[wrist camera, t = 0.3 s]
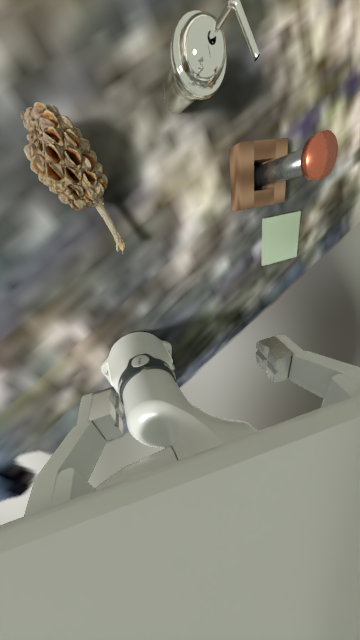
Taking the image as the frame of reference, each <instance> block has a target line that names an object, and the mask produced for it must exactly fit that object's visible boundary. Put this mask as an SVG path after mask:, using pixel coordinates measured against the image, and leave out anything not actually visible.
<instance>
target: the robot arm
mask: <svg viewBox="0 0 360 640" xmlns="http://www.w3.org/2000/svg"><path fill="white" fill-rule="evenodd" d="M256 347H257V348H258V351H257V352H256V359H257V362H258V364H259V366H260V367H261V368H262V369H264V370H267V375H268V377H269V378H270V379H271V380H272V382H273V383H277V382H279V381H283V380H286V379H288V380H290V381H292V382H293V383H295V384H297V385H299V386H301V387H303V388H305V389H307V390H309V391H310V392H312V393H314V394H316V395H318V396H320V397H322V398H323V399H324V400H323V403H322V405H321V408H320V409H317V410H314V411H312V412H309V413H306V414H303V415H301V416H298V417H295V418H293V419H290V420H287V421H284V422H282V423H279V424H276V425H273V426H271V427H268V428H265V429H262V430H260V431H258V430H257V429H255V428H254V427H253V426H251V425H250V424H248V423H245V422H243V421H237V420H229V419H224V418H220V417H217V416H214V415H211V414H209V413H206V412H204V411H202V410H200V409H199V408H197V407H196V406H194V405H193V404H191V403H190V402H189V401H188V400H187V399H186V397H185V396H184V395H183V393H182V392H181V390H180V389H179V387H178V385H177V384H176V377H175V373H174V372H173V371H172V370H174V365H172V363H173V360H172V358H171V354H172V347H171V344H170V343H169V342H167V341H162V340H160V339H158V338H157V337H156V336H154V335H152V334H150V333H147V332H134V333H130V334H128V335H125V336H123V337H122V338H120V339H119V340H118V341H117V342H116V343H115V344H114V345H113V347H112V349H111V351H110V354H109V356H108V358H107V360H106V361H105V362H104V363H103V364H102V365H101V371H102V372H103V374H104V375H105V376H106V378H107V379H108V380H109V382H110V383H111V385H112V386H113V387H111V388H108V389H104V390H101V391H97V392H94V393H91V394H87V395H84V396H83V397H82V399H81V404H80V409H79V415H78V420H77V426H75V427H73V428H72V430H71V431H70V432H69V434H68V435H67V436H66V438H65V439H64V440H63V442H62V443H61V444H60V446H59V447H58V448H57V450H56V451H55V452H54V454H53V455H52V456H51V458H50V459H49V461H48V462H47V463H46V465H45V466H44V467H43V469H42V470H41V471H40V473H39V474H38V475H37V477H36V478H35V480H34V484H33V487H32V490H31V494H30V497H29V501H28V504H27V508H26V511H25V515H24V517H22V518H19V519H17V520H14V521H11V522H8V523H6V524H3V525H0V640H360V368H359V367H357V366H353V365H350V364H347V363H344V362H340V361H338V360H335V359H331V358H328V357H325V356H322V355H319V354H316V353H313V352H309V351H303V350H302V349H301V348H300V347H299V346H297V345H296V344H295V343H294V342H293V341H292V340H290V339H289V338H288V337H287V336H286V335H284V334H280V335H277V336H274V337H271V338H267V339H264V340H261V341H259V342H257V345H256ZM107 371H108V372H107ZM114 388H115V389H114ZM115 390H116V391H117V392H118V394H119V397H120V398H119V397H118V396H116V391H115ZM120 399H121V400H120ZM121 402H122V403H121ZM122 404H123V405H124V409H125V415H126V420H127V426H128V429H129V431H130V433H131V434H132V436H133V437H134V438H135V439H137V440H138V441H140V442H141V443H143V444H145V445H147V446H152V447H162V448H165V449H163V450H161V451H158V452H156V453H154V454H152V455H150V456H148V457H145V458H143V459H141V460H139V461H136V462H134V463H132V464H130V465H128V466H126V467H124V468H122V469H121V470H119V471H118V472H116V473H115V474H114V475H112V476H111V477H109V478H108V479H107V480H105V481H104V482H103V483H101V484H100V485H98V486H97V487H96V488H94V487H92V485H90V484H89V483H88V480H89V478H90V476H91V473H92V471H93V469H94V467H95V465H96V463H97V461H98V459H99V457H100V455H101V453H102V451H103V448H104V446H105V444H106V441H107V440H110V439H113V438H115V437H118V436H121V435H123V421H122V420H121V416H122V415H123V408H122Z"/></svg>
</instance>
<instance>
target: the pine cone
mask: <svg viewBox="0 0 360 640" xmlns="http://www.w3.org/2000/svg"><path fill="white" fill-rule="evenodd" d="M21 119H22V120H23V123H24V126H25V127H26V129H27V130H28V132H29V133H30V134H28V135H27V139H28V140H29V144H28V145H26V146H25V148H24V152H25V154H26V156H27V158H28V160H30V161H31V164H30V165H31V170H33V171H34V172H35V173H36V174H38V177H39V181H41V182H43V184H45V185H47V186H49V188H50V191H51V192H53V193H56V194H59V199H60V200H61V202H62V203H64V204H70V206H71V207H72V208H74V209H75V210H81V209H82V208H85V207H90V206H91V207H96V209H97V210H98V212H99V213H100V215H101V216H102V217H103V219H104V221H105V223H106V224H107V226H108V228H109V229H110V231H111V233H112V235H113V237H114V239H115V242H116V250H117V251H119V250H120V249H121V250H122V254H123V250H124V249H125V243H124V242H123V240H122V238H121V236H120V235H119V233H118V231H117V229H116V227H115V225H114V223H113V221H112V219H111V218H110V216H109V214H108V213H107V211H106V209H105V207H104V202H103V199H104V198H103V194H104V191H105V190H106V188H107V183H108V178H107V177H106V176H105V174H102V173H103V167H102V164H100V163H98V162H97V157H96V153H95V152H94V151H93V150H90V144H89V141H88V140H87V139H84V138H82V134H81V131H80V129H79V128H77V127H74V126H73V123H72V122H71V120H70V119H69V118H68V117H66V116H61V115H60V113H59V111H58V109H57V108H56V107H55V106H54V105H46V106H45V105H44V104H43V103H38V102H35V104H34V108H32V107H29V108H27V110H24V114H22V113H21Z"/></svg>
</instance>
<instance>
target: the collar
mask: <svg viewBox="0 0 360 640" xmlns="http://www.w3.org/2000/svg"><path fill="white" fill-rule="evenodd" d="M287 152H288V138H281V139H270V140H258V141H247V142H240V143H238V144H237V145H235V146H233V147H232V148H230V149H229V154H230V178H231V201H232V211H238V210H244V209H249V208H255V207H260V206H266V205H271V204H276V203H282V202H285V186H286V180H283V181H280V182H276V183H272V184H268V185H265V186H262V190H259V191H254V164H259V163H263V164H265V163H267V162H270V161H272V160H275V159H277V158H280V157H282V156H285V155H287Z"/></svg>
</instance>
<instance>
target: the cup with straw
mask: <svg viewBox="0 0 360 640" xmlns="http://www.w3.org/2000/svg"><path fill="white" fill-rule="evenodd" d="M232 9H234V10H235V12H236V15H237V17H238V20H239V23H240V25H241V28H242V30H243V33H244V36H245V38H246V41H247V43H248V46H249V49H250V51H251V54H252V56H253V59H254V61H256V60H257V58H258V57H259V55H260V53H259V50H258V48H257V45H256V42H255V40H254V37H253V34H252V32H251V29H250V26H249V24H248V21H247V18H246V15H245V13H244V10H243V7H242V5H241V2H240V0H229V1H228V3H227V5H226V6H225V8H224V10H223V12H222V13H221V15H220V17H219V18H218V19H217V18H216V17H215V16H214V15H212V14H211V13H209V12H201V11H190V12H188V13H186V14H185V15H184V16H183V17H182V18H181V19H180V20H179V22H178V23H177V24H176V26H175V29H174V31H173V34H172V38H171V47H170V50H171V62H172V64H171V67H170V70H169V74H168V77H167V81H166V84H165V87H164V93H163V94H164V101H165V104H166V106H167V108H168V109H169V110H170V111H171V112H173V113H175V114H179V113H181V112H183V110H185V109H186V108H187V107H188V106H190V105H191V104H192V103H193V102H194V101H195V100H197V99H199V100H203V99H207V98H210V97H211V96H213V95H214V94H215V93H216V91H217V90H218V89H219V87H220V85H221V82H222V81H223V77H224V74H225V69H226V39H225V35H224V31H223V28H222V25H223V23H224V22H225V20H226V18H227V17H228V15H229V14H230V12H231V11H232Z"/></svg>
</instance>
